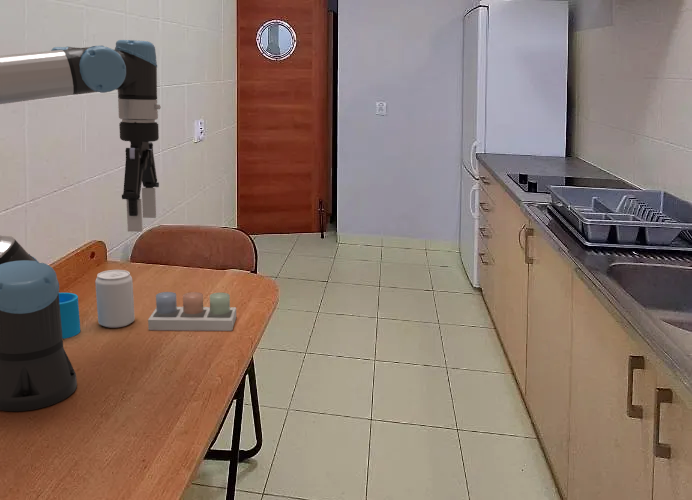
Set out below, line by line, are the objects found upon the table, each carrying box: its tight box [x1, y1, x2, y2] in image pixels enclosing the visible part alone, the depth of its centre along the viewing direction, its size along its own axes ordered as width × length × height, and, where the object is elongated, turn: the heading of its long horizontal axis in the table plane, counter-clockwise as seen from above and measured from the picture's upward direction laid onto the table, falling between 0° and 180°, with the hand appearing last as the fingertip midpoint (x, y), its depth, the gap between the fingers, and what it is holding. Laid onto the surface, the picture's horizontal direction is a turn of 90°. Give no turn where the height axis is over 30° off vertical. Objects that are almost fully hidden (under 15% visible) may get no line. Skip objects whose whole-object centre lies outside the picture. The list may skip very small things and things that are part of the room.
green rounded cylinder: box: [209, 292, 231, 314], centre depth 154 cm, size 5×5×4 cm
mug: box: [59, 292, 81, 340], centre depth 149 cm, size 12×8×8 cm
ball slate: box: [155, 291, 178, 314], centre depth 154 cm, size 5×5×4 cm
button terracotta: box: [182, 291, 204, 314], centre depth 154 cm, size 5×5×4 cm
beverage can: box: [94, 269, 135, 329], centre depth 153 cm, size 8×8×12 cm
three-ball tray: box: [147, 306, 237, 332], centre depth 155 cm, size 9×19×2 cm, turn 93°
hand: (142, 224), depth 137 cm, fingers open, 13 cm apart
